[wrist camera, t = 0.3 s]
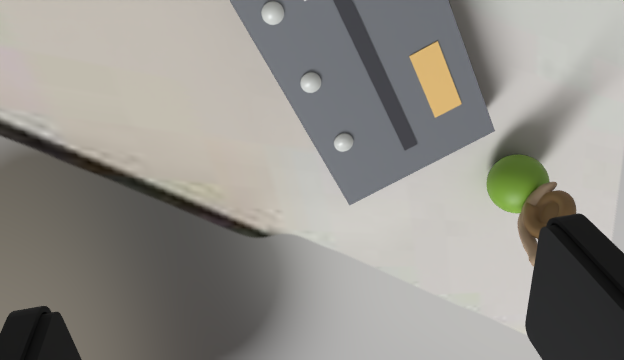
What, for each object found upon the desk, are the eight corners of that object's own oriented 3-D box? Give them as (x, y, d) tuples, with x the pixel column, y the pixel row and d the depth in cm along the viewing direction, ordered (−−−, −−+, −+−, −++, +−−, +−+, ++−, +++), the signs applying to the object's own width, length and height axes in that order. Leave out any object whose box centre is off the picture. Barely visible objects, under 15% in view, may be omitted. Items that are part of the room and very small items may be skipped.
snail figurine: (460, 190, 53) (518, 269, 43) (500, 135, 51) (572, 206, 41) (501, 208, 55) (567, 288, 45) (542, 156, 53) (620, 229, 43)
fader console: (200, -58, 39) (199, -51, 36) (377, -164, 37) (390, -165, 34) (342, 187, 51) (350, 206, 48) (480, 116, 49) (495, 132, 47)
